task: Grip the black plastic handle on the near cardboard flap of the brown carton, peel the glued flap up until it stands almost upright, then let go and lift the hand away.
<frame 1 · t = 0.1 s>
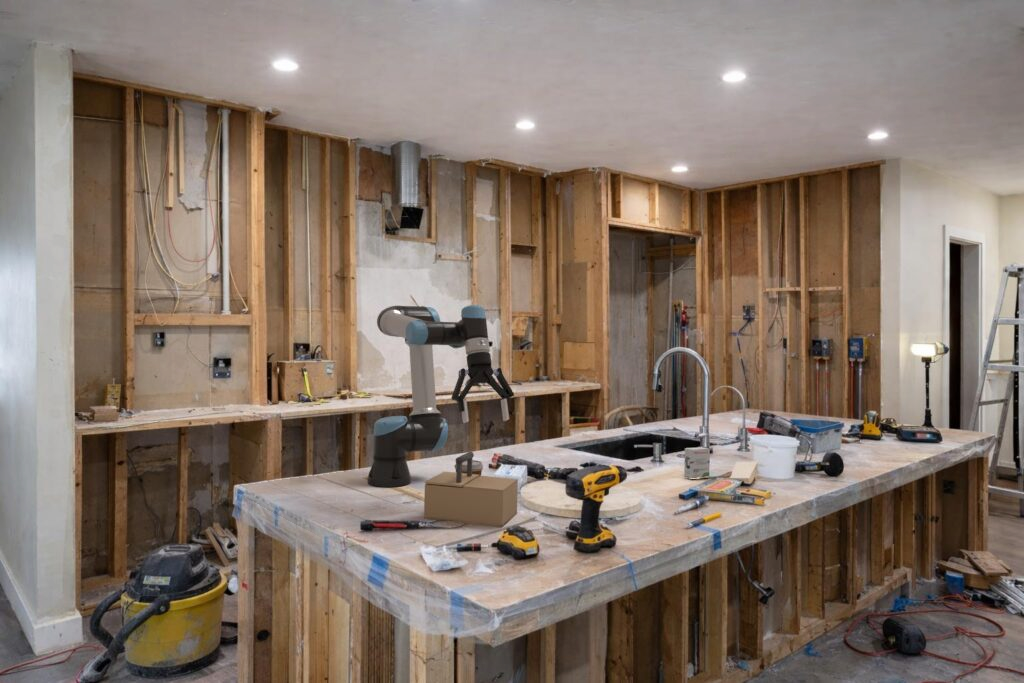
hand: (486, 421, 208), 28 cm above the worktop, tool tilted 20°, fingers open, 13 cm apart
flap: (453, 466, 205), point 14 cm above the worktop, hinge at 0.0°
disposable coffee cup: (468, 499, 224), on the worktop
carton: (471, 516, 204), on the worktop
ink box: (696, 478, 265), on the worktop
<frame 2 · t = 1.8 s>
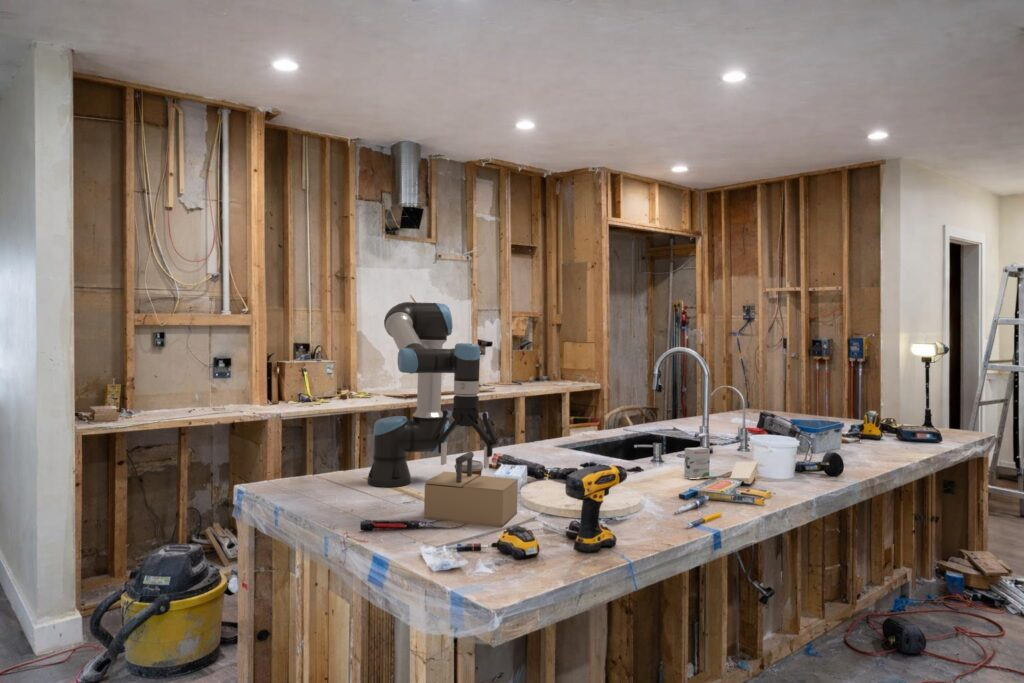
hand: (464, 466, 204), 15 cm above the worktop, tool pointing down, fingers open, 13 cm apart
nothing on the worktop moved.
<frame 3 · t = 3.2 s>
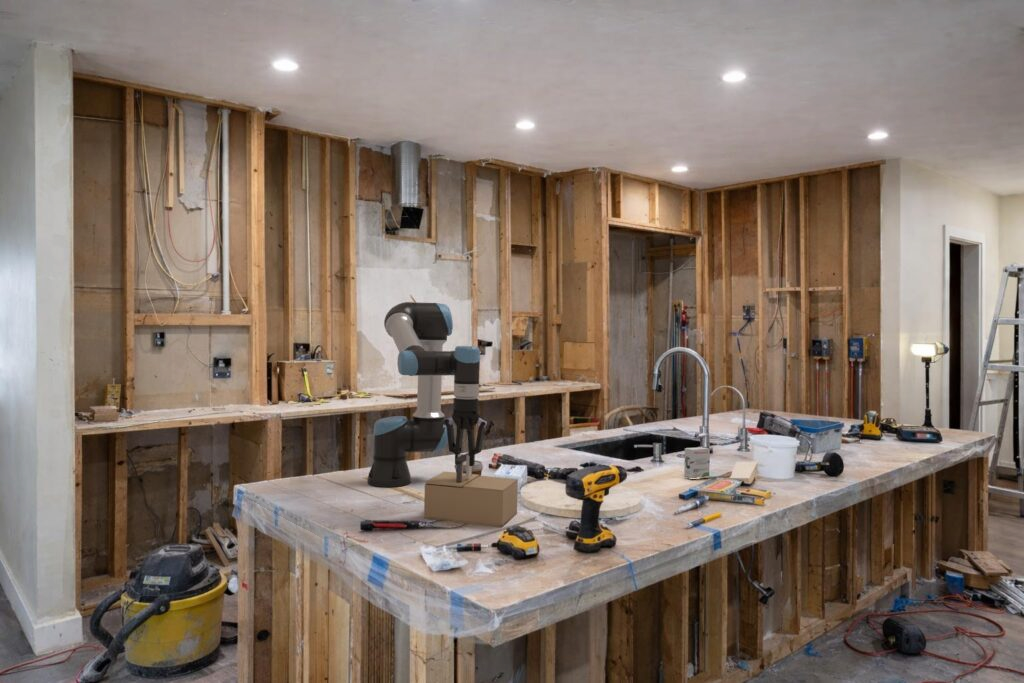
hand: (464, 476, 204), 12 cm above the worktop, tool pointing down, fingers closed on flap, 2 cm apart
flap: (453, 466, 205), point 14 cm above the worktop, hinge at 0.0°, touching gripper
everything else where it was.
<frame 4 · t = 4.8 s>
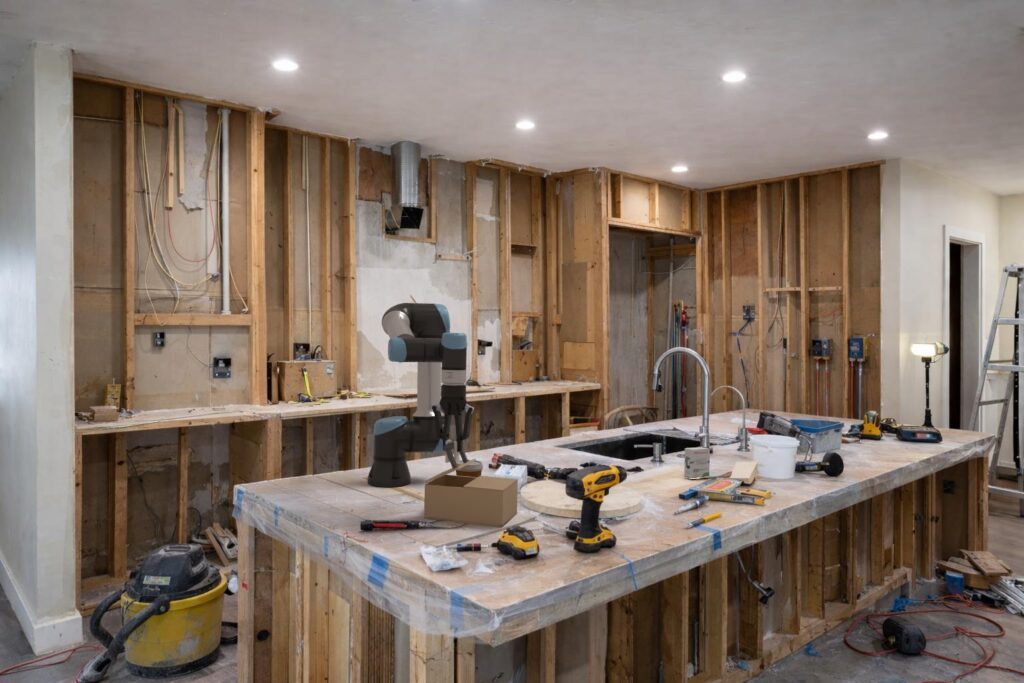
hand: (452, 462, 205), 16 cm above the worktop, tool pointing down, fingers closed on flap, 2 cm apart
flap: (446, 459, 206), point 16 cm above the worktop, hinge at 25.7°, touching gripper
everything else where it was.
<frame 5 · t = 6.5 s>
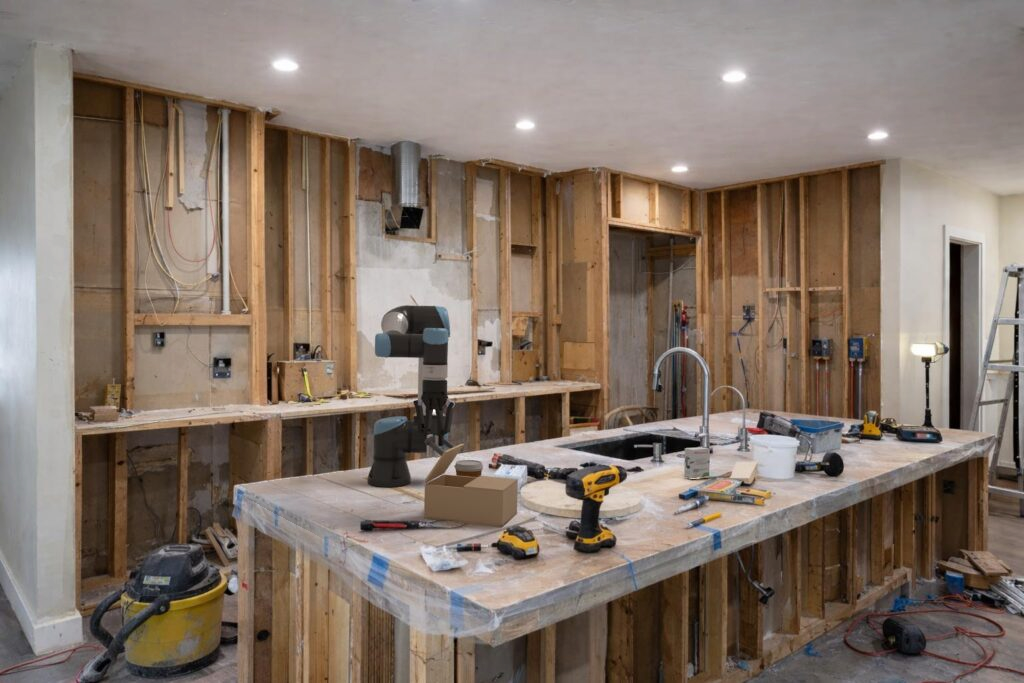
hand: (433, 456, 207), 17 cm above the worktop, tool pointing down, fingers closed on flap, 2 cm apart
flap: (435, 455, 207), point 17 cm above the worktop, hinge at 56.2°, touching gripper
everything else where it was.
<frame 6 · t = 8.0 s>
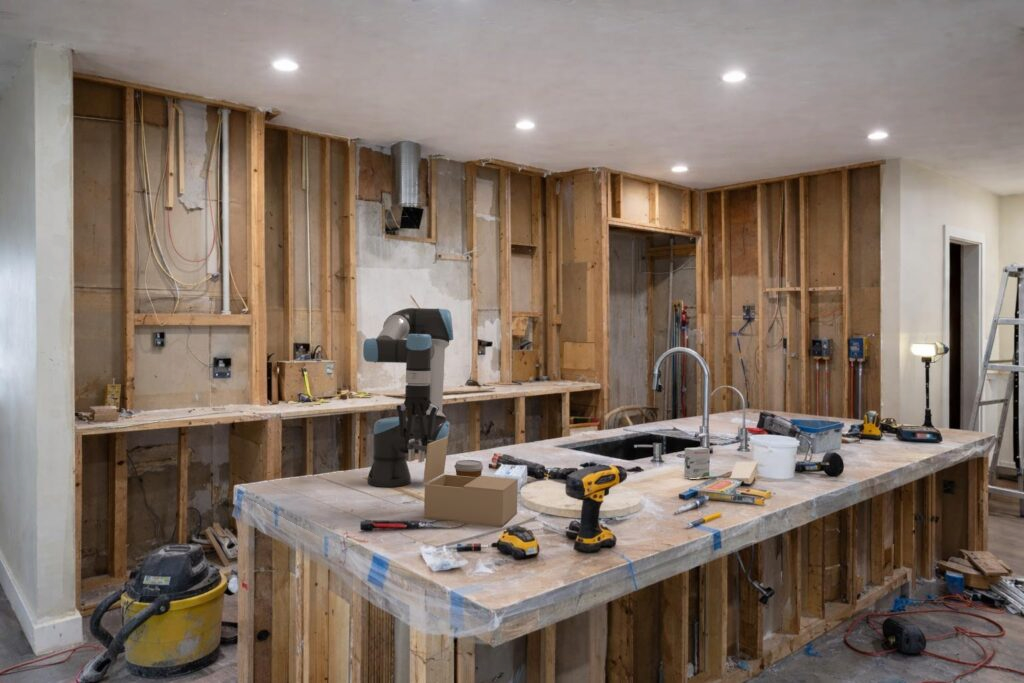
hand: (416, 461, 209), 15 cm above the worktop, tool pointing down, fingers open, 3 cm apart
flap: (424, 457, 208), point 16 cm above the worktop, hinge at 84.5°
everything else where it was.
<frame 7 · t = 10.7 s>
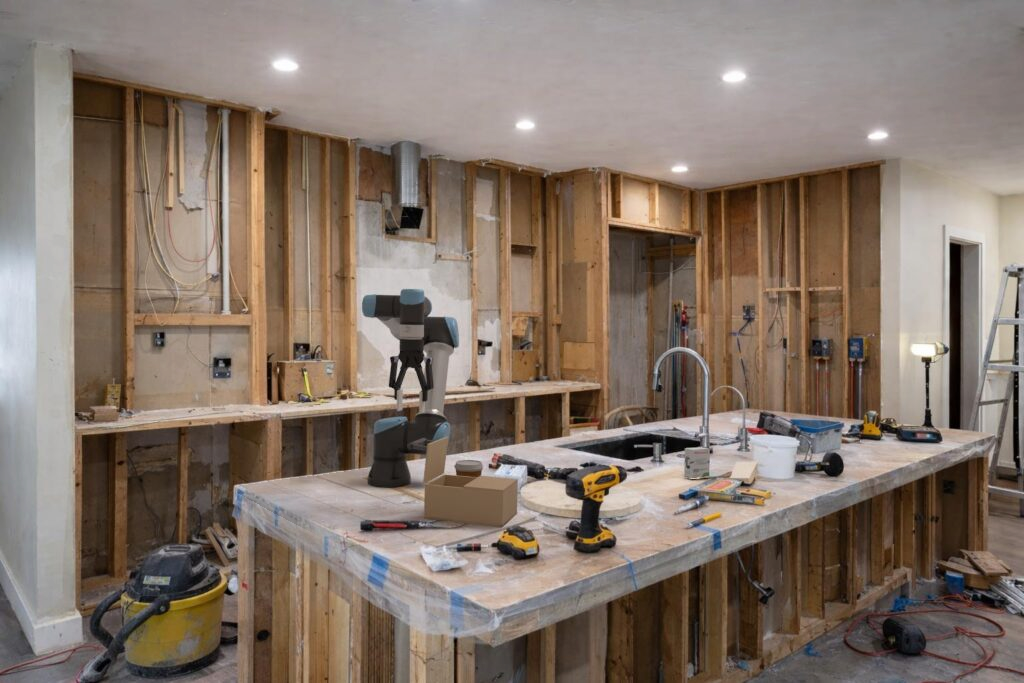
hand: (410, 410, 215), 29 cm above the worktop, tool pointing down, fingers open, 7 cm apart
nothing on the worktop moved.
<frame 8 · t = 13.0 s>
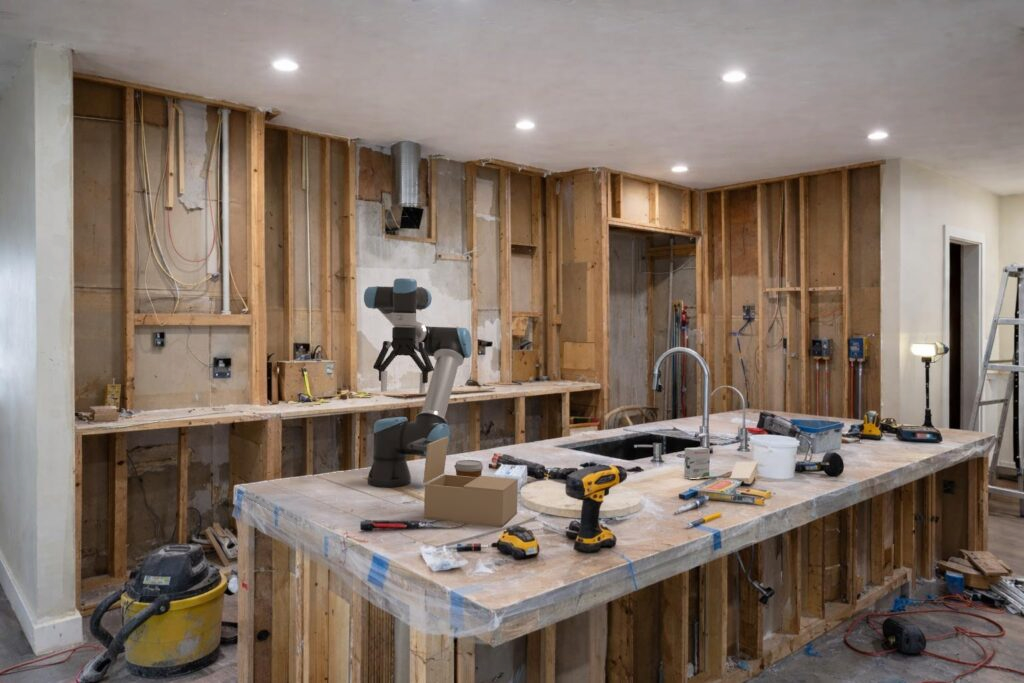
hand: (402, 392, 221), 35 cm above the worktop, tool pointing down, fingers open, 13 cm apart
nothing on the worktop moved.
at the end: flap at +84° (first picture: +0°); the gripper is holding nothing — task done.
